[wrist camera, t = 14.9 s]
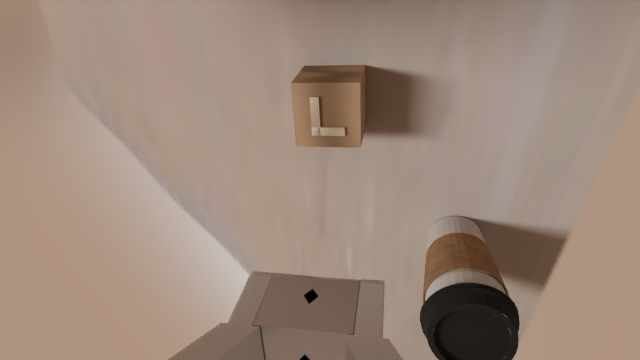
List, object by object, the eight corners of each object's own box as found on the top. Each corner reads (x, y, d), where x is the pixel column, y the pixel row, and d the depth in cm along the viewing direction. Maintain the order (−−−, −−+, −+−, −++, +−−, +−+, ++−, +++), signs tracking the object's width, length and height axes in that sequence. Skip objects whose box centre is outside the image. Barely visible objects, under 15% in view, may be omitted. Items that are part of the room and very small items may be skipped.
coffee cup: (429, 273, 53) (437, 382, 40) (406, 217, 50) (407, 315, 37) (501, 257, 50) (536, 368, 37) (482, 196, 47) (512, 295, 34)
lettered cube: (308, 125, 46) (296, 149, 41) (304, 65, 43) (290, 83, 38) (365, 125, 45) (360, 151, 40) (365, 64, 42) (359, 83, 37)
